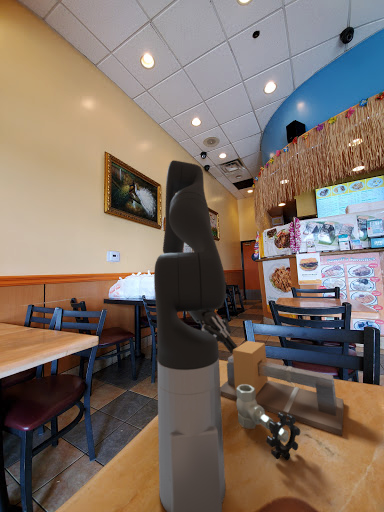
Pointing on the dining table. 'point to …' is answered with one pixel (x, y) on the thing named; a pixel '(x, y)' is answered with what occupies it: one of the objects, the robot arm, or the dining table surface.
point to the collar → (249, 365)
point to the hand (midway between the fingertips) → (234, 350)
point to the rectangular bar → (297, 381)
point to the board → (294, 404)
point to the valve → (266, 422)
